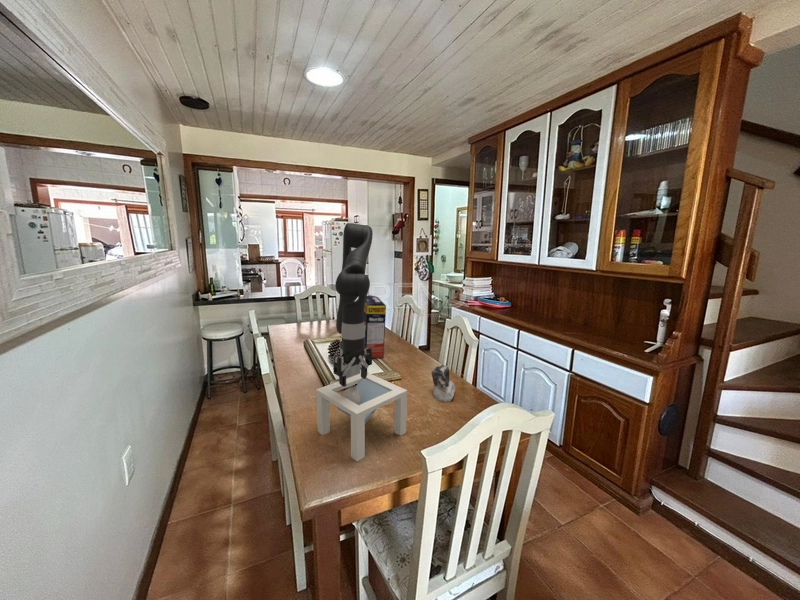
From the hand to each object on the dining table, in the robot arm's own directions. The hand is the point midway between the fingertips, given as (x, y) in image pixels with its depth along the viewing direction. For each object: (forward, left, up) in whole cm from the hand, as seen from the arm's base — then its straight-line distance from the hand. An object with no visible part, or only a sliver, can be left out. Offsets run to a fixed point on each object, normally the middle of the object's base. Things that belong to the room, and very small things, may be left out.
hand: (353, 381), depth 111 cm
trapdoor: (0, +4, -9) cm, 10 cm away
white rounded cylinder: (0, 0, -9) cm, 9 cm away
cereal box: (-60, +60, -20) cm, 88 cm away
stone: (+3, +46, -20) cm, 51 cm away
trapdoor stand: (0, +4, -20) cm, 20 cm away
